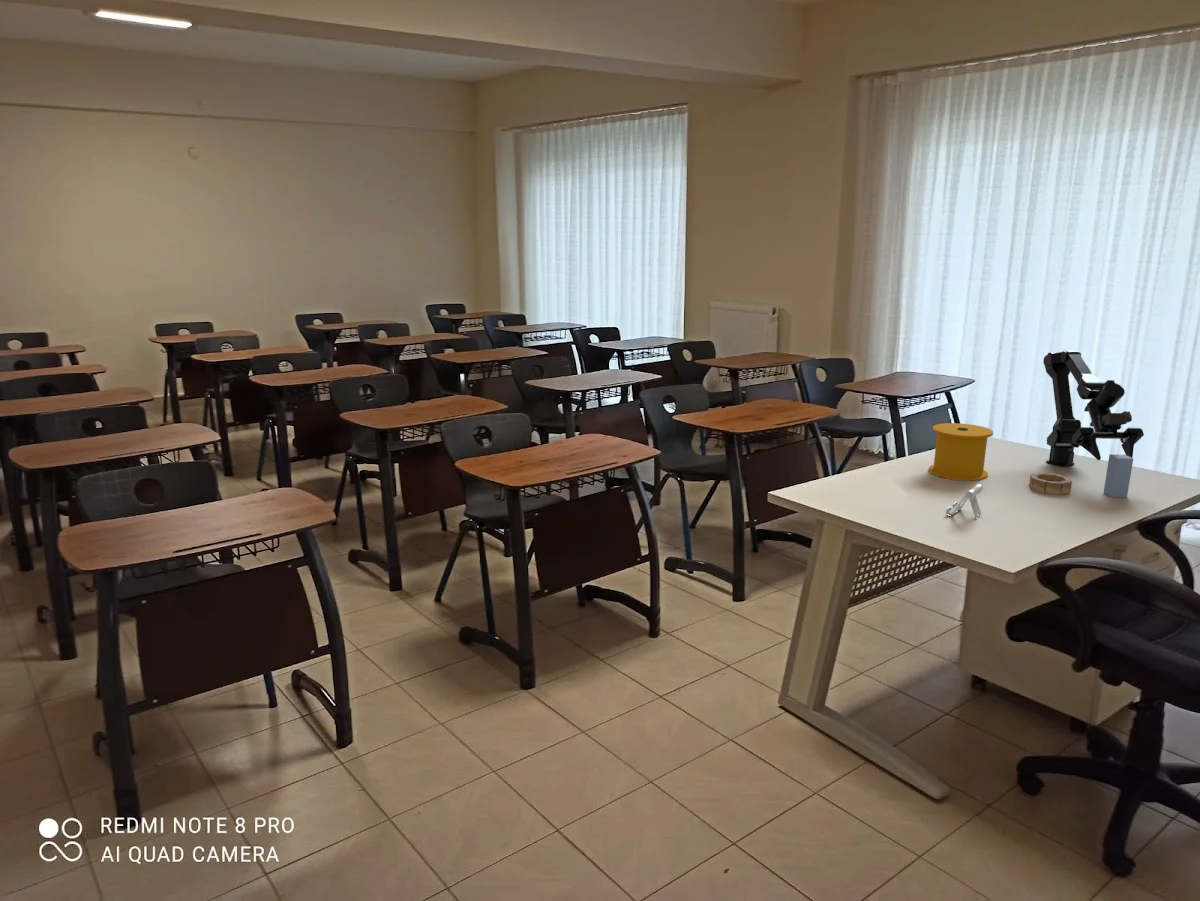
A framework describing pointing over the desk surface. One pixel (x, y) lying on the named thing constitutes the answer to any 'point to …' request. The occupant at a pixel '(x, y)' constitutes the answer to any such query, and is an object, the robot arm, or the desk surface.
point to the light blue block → (1118, 475)
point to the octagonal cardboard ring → (1050, 483)
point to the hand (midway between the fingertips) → (1115, 459)
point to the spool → (960, 451)
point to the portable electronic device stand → (969, 495)
